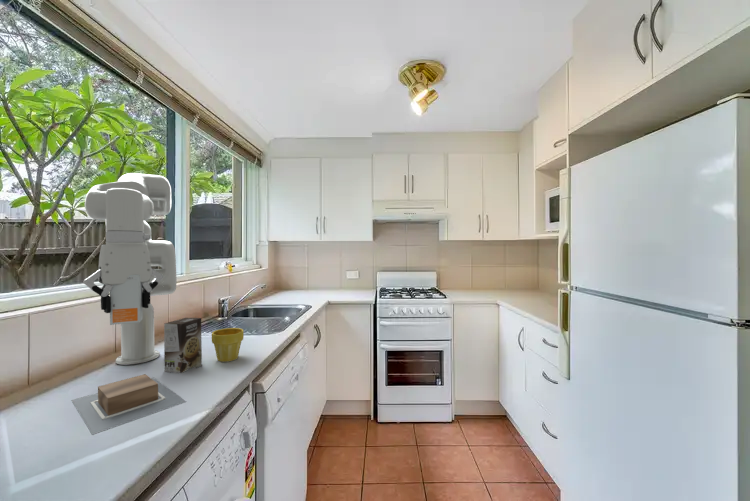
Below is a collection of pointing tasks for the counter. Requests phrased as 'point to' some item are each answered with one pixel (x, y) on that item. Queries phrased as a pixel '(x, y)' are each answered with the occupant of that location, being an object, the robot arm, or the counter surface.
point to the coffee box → (182, 345)
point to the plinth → (127, 394)
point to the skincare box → (126, 301)
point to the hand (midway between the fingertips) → (126, 309)
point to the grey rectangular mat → (101, 421)
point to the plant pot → (227, 343)
